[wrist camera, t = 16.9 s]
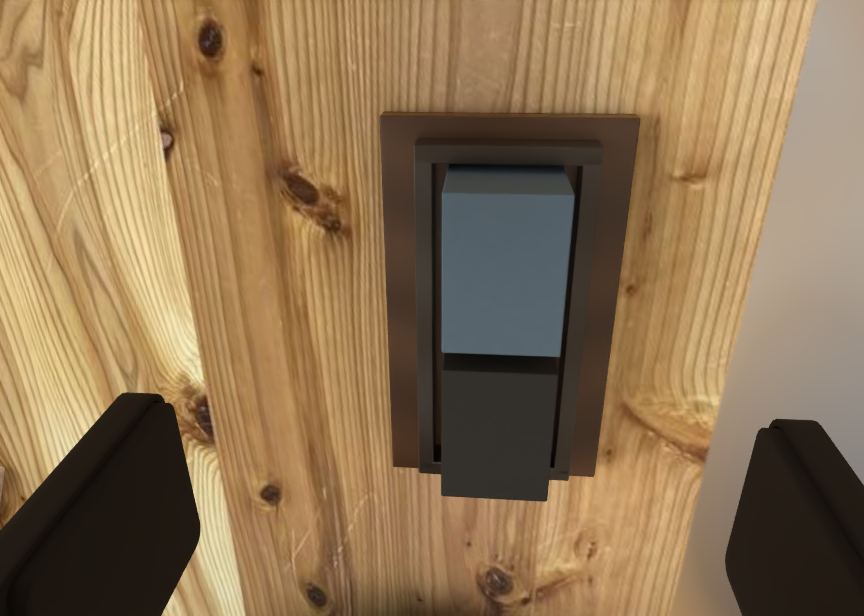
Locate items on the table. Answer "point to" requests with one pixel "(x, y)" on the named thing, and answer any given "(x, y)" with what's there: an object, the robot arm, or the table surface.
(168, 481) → the robot arm
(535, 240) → the blue-grey rectangular block
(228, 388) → the table surface
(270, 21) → the table surface
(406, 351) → the backing board
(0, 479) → the hard drive
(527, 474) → the pad
